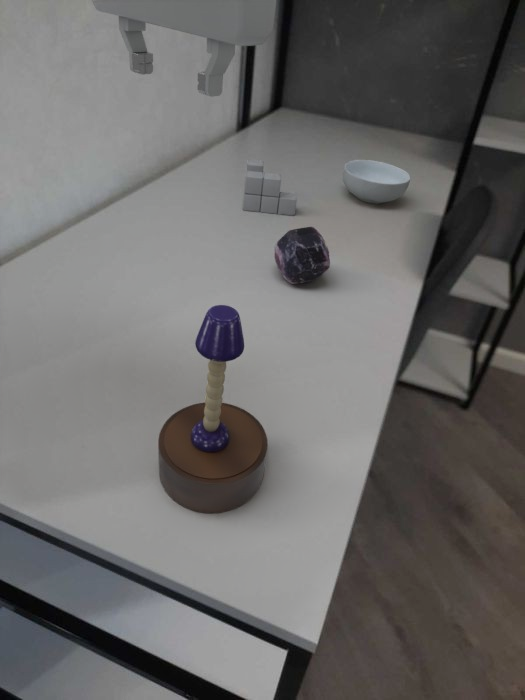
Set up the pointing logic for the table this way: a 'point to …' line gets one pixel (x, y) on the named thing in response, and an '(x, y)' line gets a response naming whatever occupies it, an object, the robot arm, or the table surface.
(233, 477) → the wooden drum
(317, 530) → the table surface
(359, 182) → the cereal bowl
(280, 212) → the grey stepped block
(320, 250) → the mineral specimen
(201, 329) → the toy lamp
